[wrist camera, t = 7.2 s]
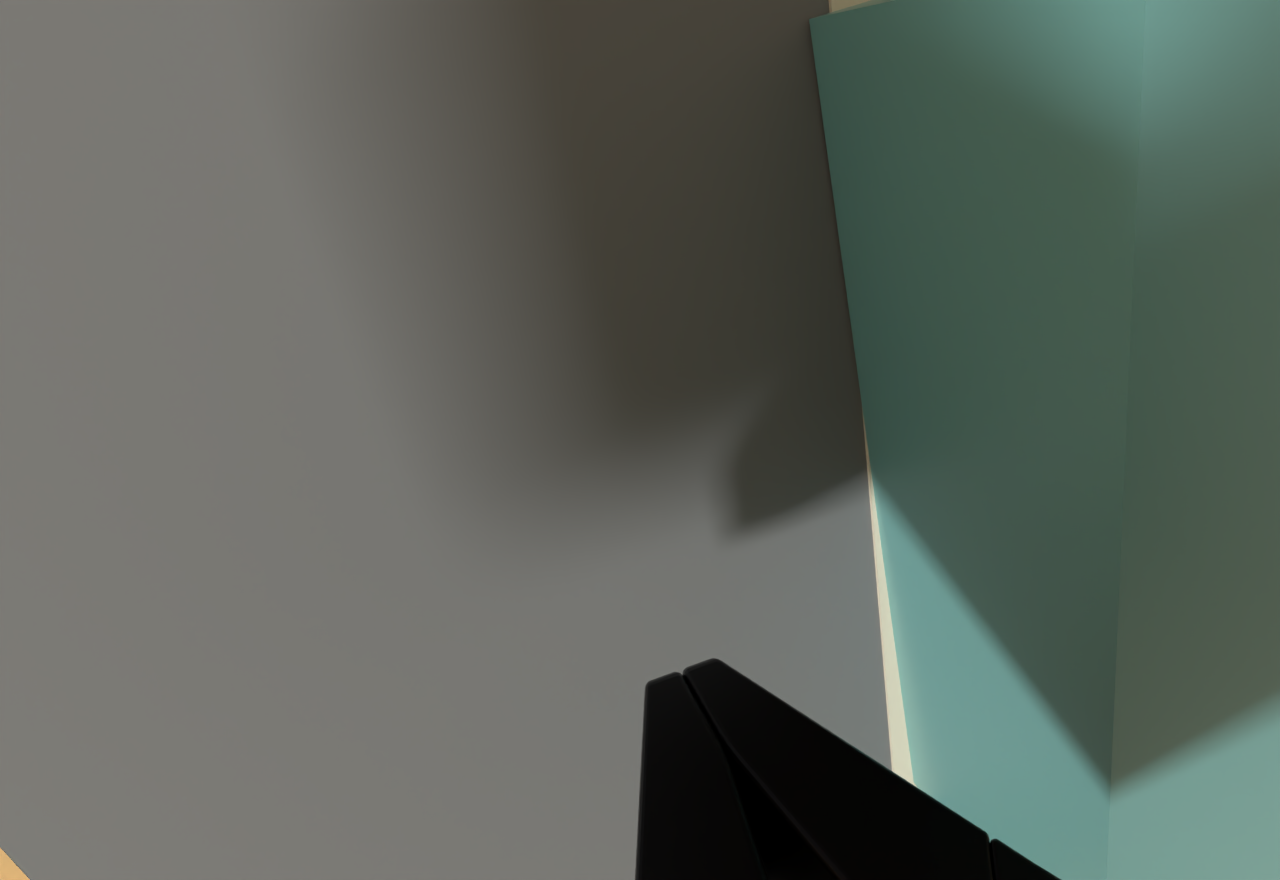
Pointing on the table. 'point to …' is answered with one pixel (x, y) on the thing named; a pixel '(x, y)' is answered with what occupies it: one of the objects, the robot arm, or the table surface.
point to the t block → (1074, 411)
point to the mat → (412, 426)
